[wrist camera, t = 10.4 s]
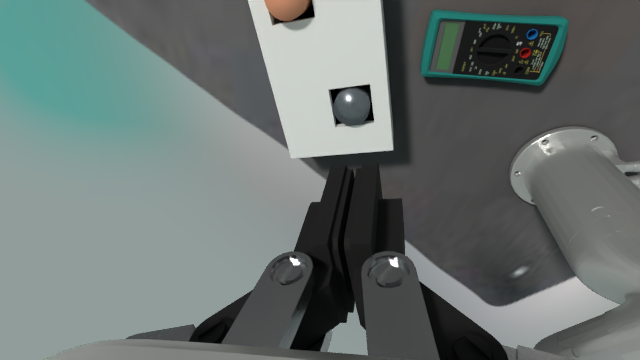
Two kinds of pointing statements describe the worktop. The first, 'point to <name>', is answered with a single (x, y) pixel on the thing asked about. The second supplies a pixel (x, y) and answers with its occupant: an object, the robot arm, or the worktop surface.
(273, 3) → the orange rounded cylinder
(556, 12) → the worktop surface
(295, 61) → the panel
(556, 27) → the digital multimeter
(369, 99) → the charcoal plunger
